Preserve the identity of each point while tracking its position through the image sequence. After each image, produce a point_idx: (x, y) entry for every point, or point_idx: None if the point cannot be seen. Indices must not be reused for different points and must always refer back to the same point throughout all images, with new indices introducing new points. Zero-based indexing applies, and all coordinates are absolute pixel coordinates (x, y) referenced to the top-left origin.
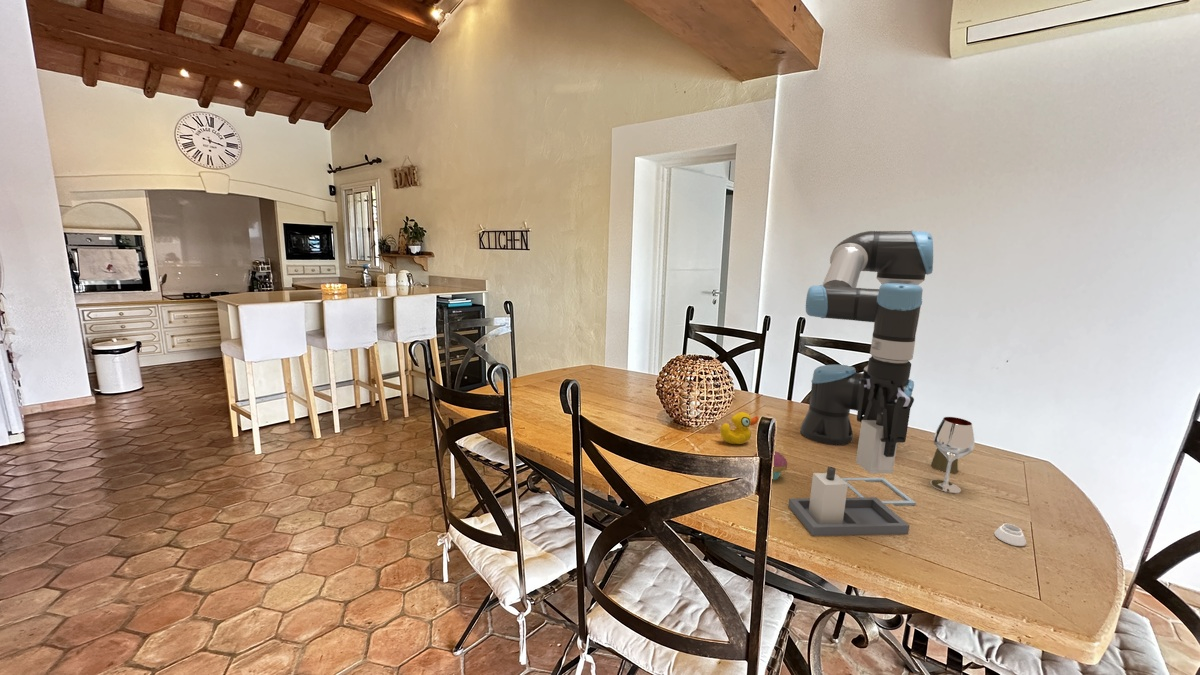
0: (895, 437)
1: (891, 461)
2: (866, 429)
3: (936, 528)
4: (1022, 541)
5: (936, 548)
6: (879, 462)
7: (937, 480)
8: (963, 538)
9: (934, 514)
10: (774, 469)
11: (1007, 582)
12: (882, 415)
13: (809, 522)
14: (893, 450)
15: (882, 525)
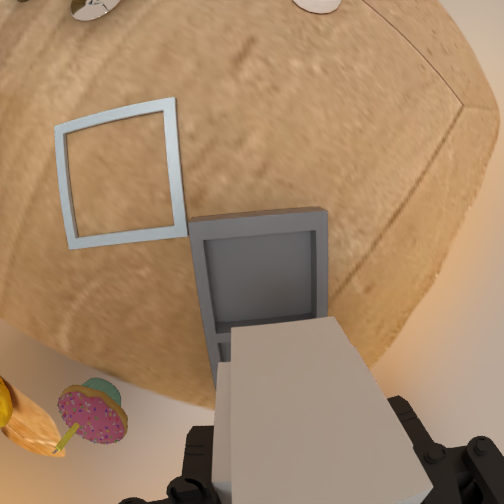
0: (476, 485)
1: (368, 370)
2: None
3: (284, 112)
4: None
5: (359, 170)
6: None
7: (74, 4)
8: (321, 79)
9: (219, 75)
10: (126, 422)
11: (438, 116)
12: None
13: None
14: (415, 421)
15: (325, 279)
